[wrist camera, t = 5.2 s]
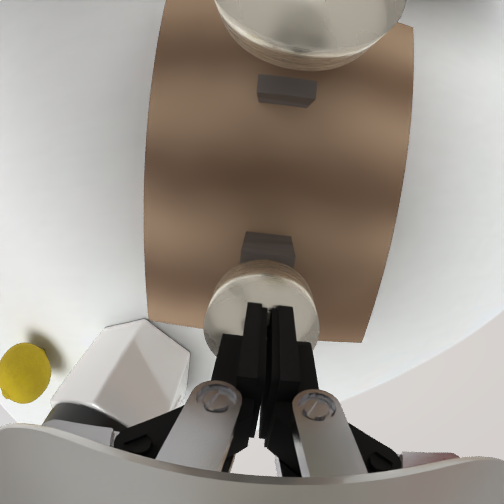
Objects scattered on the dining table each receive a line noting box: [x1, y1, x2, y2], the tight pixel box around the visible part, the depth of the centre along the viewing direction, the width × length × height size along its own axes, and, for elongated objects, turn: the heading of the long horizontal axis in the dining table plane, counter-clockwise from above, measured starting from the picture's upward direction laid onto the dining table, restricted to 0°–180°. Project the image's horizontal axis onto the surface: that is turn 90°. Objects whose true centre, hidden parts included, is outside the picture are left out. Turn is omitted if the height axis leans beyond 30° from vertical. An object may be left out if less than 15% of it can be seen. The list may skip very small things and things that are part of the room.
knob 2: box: [204, 260, 319, 357], centre depth 14 cm, size 4×4×6 cm
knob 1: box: [214, 0, 406, 71], centre depth 7 cm, size 4×4×6 cm
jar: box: [42, 319, 190, 432], centre depth 18 cm, size 9×8×12 cm
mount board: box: [144, 0, 414, 343], centre depth 15 cm, size 20×14×6 cm
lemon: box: [0, 343, 51, 404], centre depth 21 cm, size 6×6×8 cm
